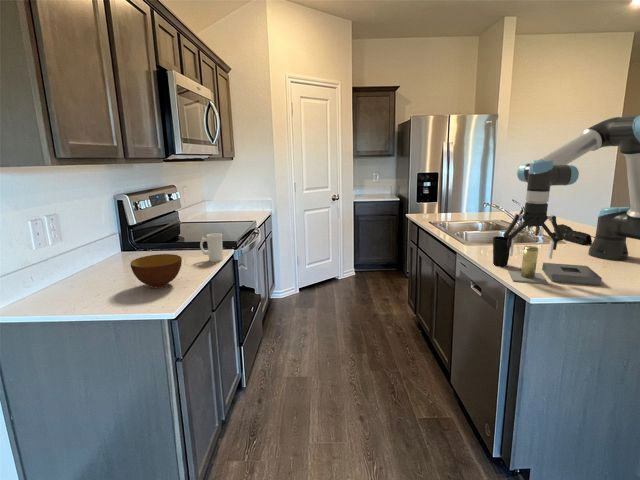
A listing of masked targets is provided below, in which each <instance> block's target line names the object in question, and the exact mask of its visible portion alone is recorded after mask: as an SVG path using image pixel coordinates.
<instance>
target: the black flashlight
mask: <svg viewBox="0 0 640 480" xmlns="http://www.w3.org/2000/svg"><path fill="white" fill-rule="evenodd" d="M557 225H558V227H559V230H560V232H561V234H562V237H563V241H564V240H565V241H566V242H570V243H574V244H576V245H580V246H586V245H587V244H589V245H591V244H592V243H593V239H592V238H594V239H595V236H592V235H591V234H589V233H586V232H583V231H577V230H575V229H573V228H572V227H571V226H568V225H567V224H563V223H562V224H557ZM552 233H553V235H554V236H555V237H557V235H556V232H555V230H554V229H553V231H552ZM587 246H588V245H587Z"/></svg>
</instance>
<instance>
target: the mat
mask: <svg viewBox="0 0 640 480" xmlns="http://www.w3.org/2000/svg"><path fill="white" fill-rule="evenodd" d="M508 274H509V276H510V278H511V280H512V282H513V281H514V282H515V283H525V282H526V283H527V284H537V285H549V282H548V280H547V278H545V276H544V275H543V274H542V273H541V272H535V278H533V279H528V278H523V277H521V271H514V270H508Z"/></svg>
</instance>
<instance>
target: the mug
mask: <svg viewBox="0 0 640 480" xmlns="http://www.w3.org/2000/svg"><path fill="white" fill-rule="evenodd" d="M204 242H206V243H207V251H206V250H205V249H204V246H203V244H204ZM199 247H200V250H201V252H202V254H203V255H207V256H208V260H209V262H211V263H212V262H215V263H216V262H217V263H218V262H221V261H223V260H224V253H223V252H224V251H223V234H222V233H218V232H217V233H216V232H215V233H208V234H206V237H201V240H200V244H199Z"/></svg>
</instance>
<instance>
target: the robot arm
mask: <svg viewBox="0 0 640 480" xmlns="http://www.w3.org/2000/svg"><path fill="white" fill-rule="evenodd" d="M608 147H619V151H620V152H619V153H620V154H621V155H622V156H624V157H625V164H626V166H625V167H626V173H627V183H628V192H629V195H628V196H629V204H630V207H629V206H627V207H626V206H623V207H621V206H619V207H618V206H617V207H602V208H601V209H600V210H599V213H598V216H597V224H596V229H595V231H596V232H595V236H594V237H595V238H594V239H593V240H592V243H591V244H590V247H589V248H588V252H587V253H588V255H589V256H591V257H594V258H598V259H603V260H609V261H610V260H613V261H624V260H623V259H626V260H628V259H629V251H628V245H627V239H628V238H629V239H633V240H638V241H640V115H639V114H638V115H629V116H617V117H611V118H608V119H605V120H603V121H600V122H598V123H596V124H594V125H592V126H589V127H588V128H586V129H585V130H583V131H581V133H580V135H579V136H578V137H576V138H574V139H572V140H570V141H568V142H566V144H564V145H562V146H560V147H558V148H557V149H555V150H553V151H551V152H550V153H548V154H546V155H545V156H543V157H541V158H539V159H537V160H536V159H535V160H532V161H530V163H529V162H527V163H524V164H523V163H522V164H521V165H520V166H519V167H518V169H517V172H516V175H517V178H518V180H519V181H521V182H524V183H527V187H526V195H525V201H526V202H525V203H524V211H523V212H524V213H523V214H518V213H515V214H514V216H513V219H512V221H511V222H510V224H509V225H508V227H507V228H506V229H505V231H504V233H503V234H502V237H505V238H508V243H507V246H508V247H510V252H509V257H513V255H514V254H513V253H514V246H515V245H514V244H515V239H514V238H515V237H516V236H517V235H518V234H519V233H521V231H523V230H524V229H525V228H526V227H529V228H530V227H531V228H533V227H535V228H540V227H542V229H543V230H544V231H545V233H547V235H548V236H549V237H550V239H551V240H549V244H548V245H549V246H548V253H547V258H548V259H549V260H552V259H553V255H554V254H553V252H554V251H556V250H557V247H558V246H557V245H558V242H562V241H564V239H563V237H562V234H561V232H560V230H559V227H558V225H559V224H558V222H557V216H556V215H554V214H552V215H548V206H549V204H548V203H549V199H550V191H551V187H552V186H553V187H554V186H569V185H573V184H575V183H576V182H577V181H578V179H579V175H580V173H579V169H578V168H577V166H575V165H572V164H570V163H572V162H573V161H575V160H577V159H579V158H580V157H582V156H584V155H585V154H588V153H589V152H595V151H597V150H600V149H601V148H608ZM521 219H522V220H523V222H521V224H520V225H519V226H518V227H516V228H515V226H516V225H517V223H518V222H519V221H520V220H521ZM546 221H549V222H551V223H550V224H551V225H552V228H553V231H554V230H555V231H554V232H556V235H557V237H555V236H554V235H553V231H551V230H550V229H549V227H548V226H547V225H546V223H545V222H546ZM514 228H515V229H514ZM513 229H514V230H513ZM627 258H628V259H627Z"/></svg>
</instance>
